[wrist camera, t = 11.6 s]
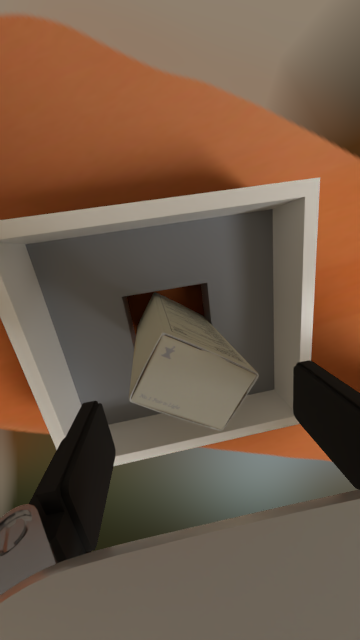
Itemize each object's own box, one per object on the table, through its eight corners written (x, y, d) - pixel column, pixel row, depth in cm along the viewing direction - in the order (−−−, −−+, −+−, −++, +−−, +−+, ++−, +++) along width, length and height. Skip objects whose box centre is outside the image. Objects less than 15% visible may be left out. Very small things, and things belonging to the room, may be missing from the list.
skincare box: (136, 326, 23) (120, 402, 11) (155, 289, 22) (158, 328, 10) (188, 349, 24) (221, 436, 13) (207, 315, 23) (262, 375, 12)
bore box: (265, 202, 21) (319, 177, 14) (269, 380, 27) (307, 421, 20) (28, 235, 19) (-39, 225, 12) (90, 417, 25) (68, 476, 18)
